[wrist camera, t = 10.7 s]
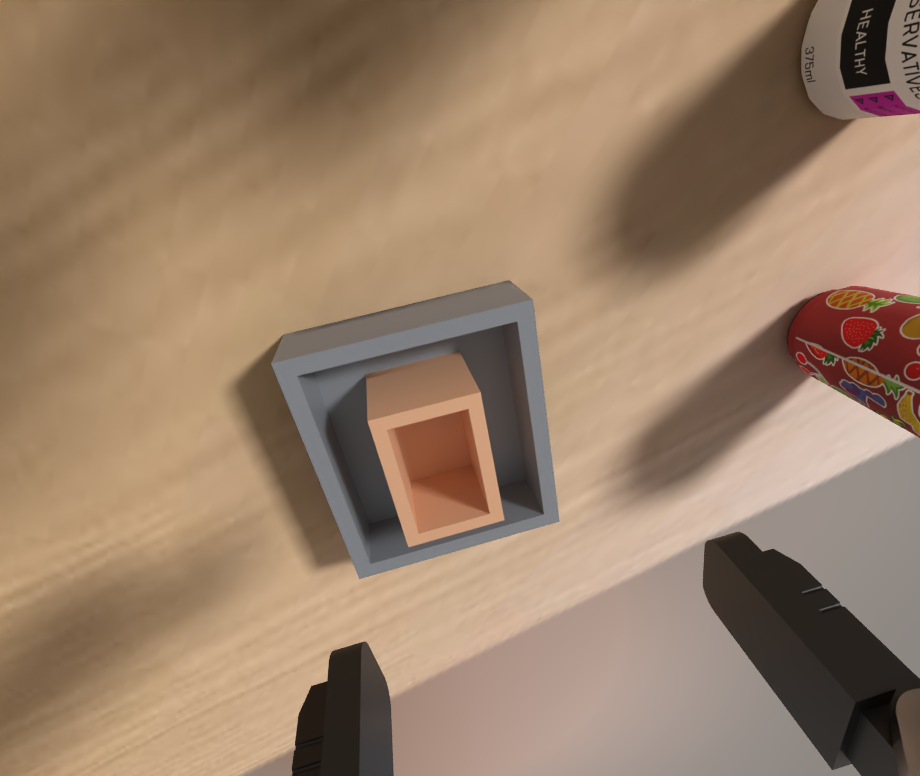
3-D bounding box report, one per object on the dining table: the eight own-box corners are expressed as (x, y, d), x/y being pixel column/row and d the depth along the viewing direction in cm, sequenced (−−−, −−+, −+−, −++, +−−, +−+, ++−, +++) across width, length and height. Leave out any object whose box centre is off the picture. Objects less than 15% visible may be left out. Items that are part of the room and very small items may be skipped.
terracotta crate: (459, 350, 30) (480, 392, 25) (482, 464, 34) (504, 520, 29) (366, 374, 30) (367, 421, 24) (400, 486, 34) (408, 547, 28)
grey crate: (509, 280, 29) (532, 299, 25) (537, 481, 37) (559, 521, 33) (283, 334, 28) (270, 363, 24) (359, 531, 35) (359, 579, 31)
